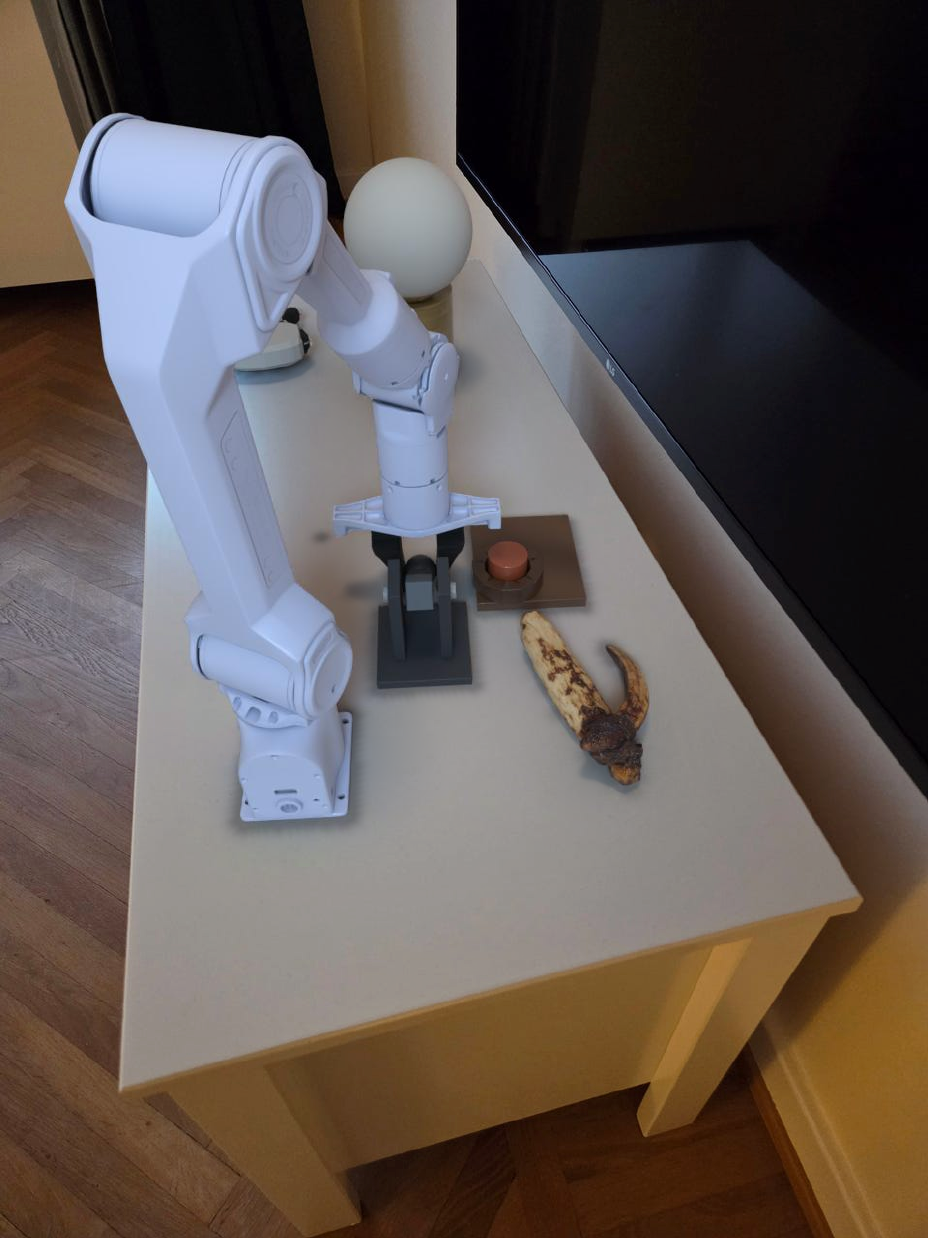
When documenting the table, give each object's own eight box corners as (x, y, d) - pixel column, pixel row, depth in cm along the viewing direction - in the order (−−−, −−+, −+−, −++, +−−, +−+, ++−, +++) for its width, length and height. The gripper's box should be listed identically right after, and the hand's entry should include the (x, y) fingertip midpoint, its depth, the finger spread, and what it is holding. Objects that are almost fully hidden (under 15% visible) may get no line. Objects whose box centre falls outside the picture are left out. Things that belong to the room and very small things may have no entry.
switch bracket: (379, 613, 77) (370, 541, 71) (466, 609, 77) (464, 537, 71) (377, 690, 71) (367, 619, 64) (472, 685, 71) (471, 614, 65)
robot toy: (218, 337, 114) (218, 387, 103) (210, 304, 111) (209, 352, 100) (308, 327, 116) (318, 375, 105) (303, 294, 113) (312, 340, 102)
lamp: (490, 393, 102) (493, 173, 84) (380, 418, 99) (358, 195, 81) (446, 336, 112) (440, 128, 94) (345, 357, 109) (318, 145, 90)
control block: (585, 609, 77) (588, 586, 75) (474, 614, 77) (474, 591, 75) (567, 523, 85) (569, 500, 83) (466, 527, 85) (466, 504, 83)
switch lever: (405, 583, 78) (403, 552, 78) (437, 582, 78) (436, 550, 78) (402, 615, 68) (399, 579, 67) (438, 613, 68) (437, 577, 67)
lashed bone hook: (698, 767, 66) (588, 612, 77) (713, 732, 62) (595, 575, 73) (594, 806, 63) (495, 639, 74) (603, 772, 60) (499, 602, 71)
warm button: (528, 580, 76) (529, 566, 75) (489, 582, 76) (489, 568, 75) (524, 554, 78) (525, 540, 77) (486, 555, 78) (486, 541, 77)
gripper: (497, 435, 72) (495, 552, 82) (328, 442, 72) (346, 559, 82) (504, 485, 67) (501, 603, 77) (323, 493, 67) (343, 611, 77)
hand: (422, 584), depth 79 cm, fingers closed on switch lever, 3 cm apart
